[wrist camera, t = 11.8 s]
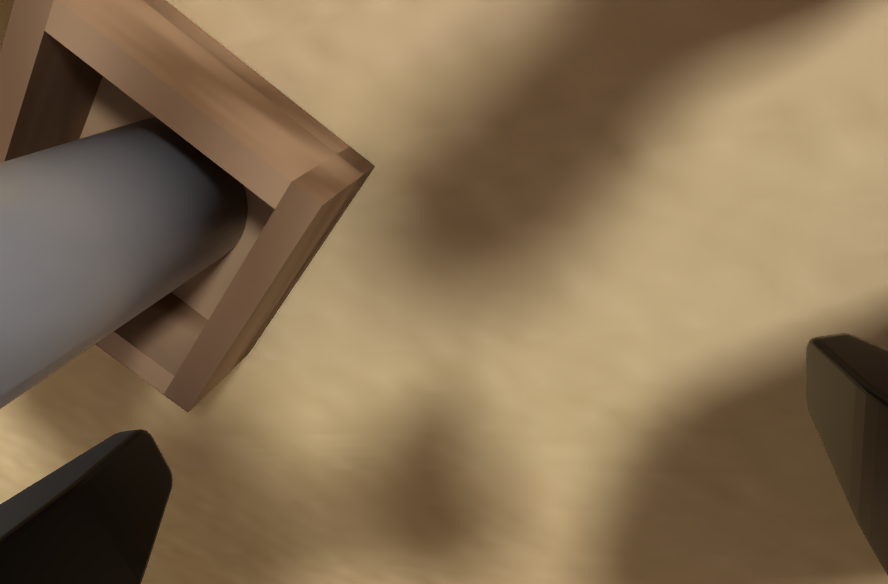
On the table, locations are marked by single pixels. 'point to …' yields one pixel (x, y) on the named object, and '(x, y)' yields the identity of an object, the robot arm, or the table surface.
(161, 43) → the walnut socket
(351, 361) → the table surface
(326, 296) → the table surface
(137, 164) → the charcoal canister
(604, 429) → the table surface
